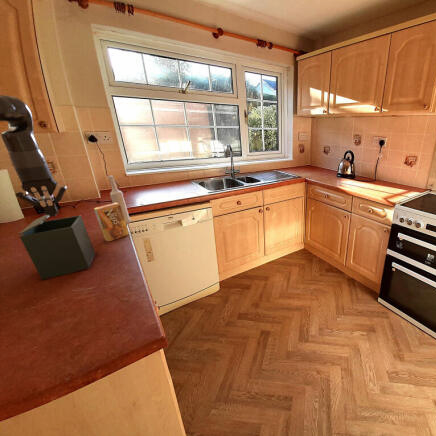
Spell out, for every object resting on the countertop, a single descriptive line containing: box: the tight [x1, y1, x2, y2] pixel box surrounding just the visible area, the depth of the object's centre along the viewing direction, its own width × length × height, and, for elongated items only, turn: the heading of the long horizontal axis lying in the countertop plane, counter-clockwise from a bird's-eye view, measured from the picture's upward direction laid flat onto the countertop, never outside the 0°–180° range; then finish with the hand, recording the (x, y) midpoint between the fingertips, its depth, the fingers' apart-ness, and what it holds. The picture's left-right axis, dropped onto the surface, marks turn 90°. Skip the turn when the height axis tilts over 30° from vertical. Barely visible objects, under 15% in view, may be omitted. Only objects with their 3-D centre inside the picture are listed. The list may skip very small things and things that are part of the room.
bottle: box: [107, 175, 132, 225], centre depth 123 cm, size 5×5×25 cm
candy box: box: [93, 202, 130, 242], centre depth 109 cm, size 9×4×15 cm, turn 145°
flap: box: [18, 214, 50, 236], centre depth 82 cm, size 6×13×1 cm, turn 28°
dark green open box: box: [19, 215, 96, 280], centre depth 88 cm, size 13×13×16 cm
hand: (53, 215), depth 84 cm, fingers closed
